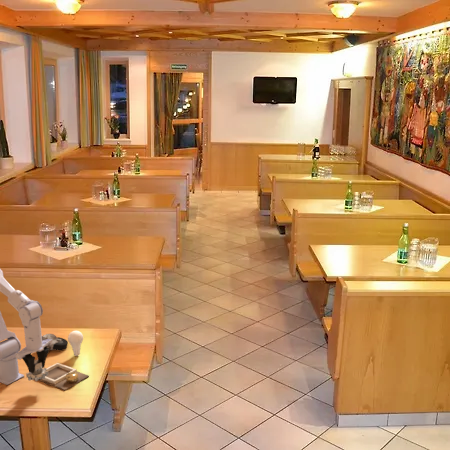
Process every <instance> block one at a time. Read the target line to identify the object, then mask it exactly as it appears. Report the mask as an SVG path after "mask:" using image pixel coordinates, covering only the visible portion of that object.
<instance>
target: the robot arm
mask: <svg viewBox="0 0 450 450" xmlns="http://www.w3.org/2000/svg"><path fill="white" fill-rule="evenodd" d="M0 292H1V293H2V294H3V295H4V296H6V297H7V303H8V304H10V305H11V306H12V307H13V308H14V309H15V310H16V311H17V312H18V316H19V319H20V320H21V324H22V326H23V331H24V339H25V346H24V348H22V343H21V341H20V340H19V338H18V337H17V335H16V333H15V332H14V331H11V330H8V328H7V325H6V322H5V320H4V318H3V314H2V312H1V311H0V383H1V384H3V385H7V386H8V385H10V384H12V383H14V382H15V381H18V380H20V379H22V378H24V377H25V374H23V373H20V372H19V371H20V370H19V363H18V360H19V361H21V360H23V362H24V363H25V365H26V367H27V370H28V373H29V372H31V373H34V360H36V357H35V356H33V354H34V353H36V356H37V360H41V361H42V368H45V367H46V360H47V357H48V354H49V352H50V350H49V348H47V346H48V345H52V340H51V339H46V340H43V341H42V336H43V334H42V327H41V326H42V325H41V324H42V323H41V316H42V315H43V313H44V309H43V306H42V305H41V303H40V302H39V301H37V300H33V299H30V298H29V297H28V296H27V295H26V294H25V293H23V291H21V290H19V289H15V288H14V287H13V286H12V285H11V283H9V281H7V280H6V278H5V277H4V272H3V270H2V269H1V268H0Z"/></svg>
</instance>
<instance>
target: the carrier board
mask: <svg viewBox="0 0 450 450" xmlns="http://www.w3.org/2000/svg"><path fill="white" fill-rule="evenodd" d="M69 372H70V371H68V370H65V369H63V368H60V367H56V368H54V369H52V370H50V371H49V372H48V375H47V376H46V377H48V378H51V379H54V380H56V379H58V378H59V377H61V376H63V375H65V374H67V373H69ZM77 373H78V382H76V383H73V384H69V383H67V381H66V379H64V380H62V381H60V382H58V383H56V384H53V383H50V382H48V381H45V380H43V379H39V380H38V381H39V382H42V383H45V384H47V385H50V386H51V387H52V386H53V387H54V388H57V389H60V390H62V391H67V390H69V389H70V388H72V387H74V386H76V385H78V384H80V382H83V381H84V380H86V379H88V378H89V377H90V375H88V374H85V373H82V372H79V371H77Z"/></svg>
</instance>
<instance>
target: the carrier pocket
mask: <svg viewBox="0 0 450 450" xmlns="http://www.w3.org/2000/svg"><path fill="white" fill-rule="evenodd" d="M56 367H60V368H63V369H65V370H68V371H70V372H78V370H77V369H76V368H73V367H71V366H68V365H65V364H63V363H59V362H56V363H54V364H53V365H52V364H51V365H50V366H49V367H47V368H46V367H45V368H46V371H48V372H49V371H50V370H52V369H54V368H56ZM70 372H69V373H70ZM67 374H68V373H67ZM64 379H66V374H65V375H63V376H61V377H59V378H58V379H56V380H54V379H51V378H48V377H46V376H45V379H43V380H45V381H48V382H50V383H53V384H56V383H58V382H60V381H62V380H64Z"/></svg>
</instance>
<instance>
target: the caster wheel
mask: <svg viewBox="0 0 450 450" xmlns="http://www.w3.org/2000/svg"><path fill="white" fill-rule="evenodd" d="M46 339H51V340H52V345H48V346H47V348H49V351H60V352H61V351H64V350H66V349H67V348H68V343H69V341H68V339H66V338H63V337H58V336H57V335H56V334H53V333H46V334H42V341H43V340H46Z"/></svg>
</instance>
